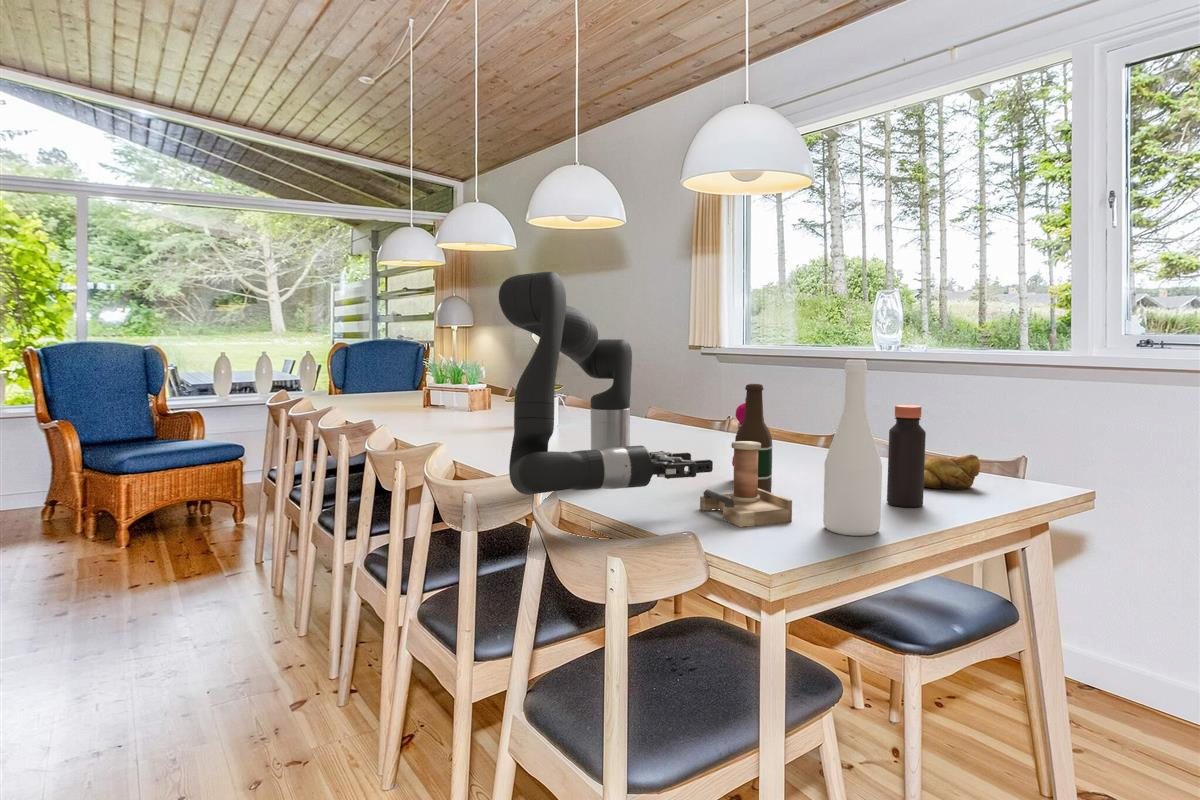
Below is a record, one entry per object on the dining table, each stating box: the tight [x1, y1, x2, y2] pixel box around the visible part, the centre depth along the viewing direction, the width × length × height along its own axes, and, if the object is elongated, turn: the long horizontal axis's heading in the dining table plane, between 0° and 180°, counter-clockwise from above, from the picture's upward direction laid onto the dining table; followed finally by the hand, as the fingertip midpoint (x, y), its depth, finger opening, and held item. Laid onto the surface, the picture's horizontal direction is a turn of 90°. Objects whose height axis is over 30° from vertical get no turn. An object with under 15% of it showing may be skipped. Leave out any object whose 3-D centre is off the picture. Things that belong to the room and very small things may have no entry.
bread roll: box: [924, 454, 981, 490], centre depth 166 cm, size 13×10×8 cm
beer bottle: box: [734, 383, 773, 493], centre depth 155 cm, size 8×8×24 cm
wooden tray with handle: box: [699, 488, 793, 528], centre depth 141 cm, size 15×11×4 cm
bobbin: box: [730, 441, 761, 503], centre depth 142 cm, size 6×6×11 cm
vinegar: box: [886, 404, 927, 509], centre depth 148 cm, size 7×7×20 cm
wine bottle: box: [822, 359, 883, 537], centre depth 129 cm, size 10×10×30 cm
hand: (700, 461), depth 139 cm, fingers open, 8 cm apart
